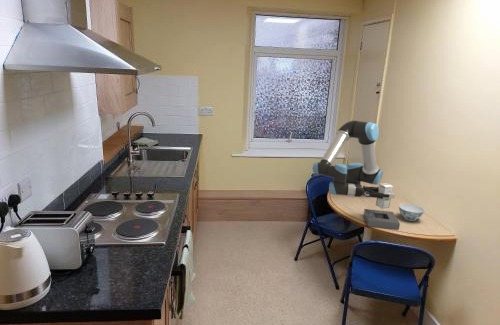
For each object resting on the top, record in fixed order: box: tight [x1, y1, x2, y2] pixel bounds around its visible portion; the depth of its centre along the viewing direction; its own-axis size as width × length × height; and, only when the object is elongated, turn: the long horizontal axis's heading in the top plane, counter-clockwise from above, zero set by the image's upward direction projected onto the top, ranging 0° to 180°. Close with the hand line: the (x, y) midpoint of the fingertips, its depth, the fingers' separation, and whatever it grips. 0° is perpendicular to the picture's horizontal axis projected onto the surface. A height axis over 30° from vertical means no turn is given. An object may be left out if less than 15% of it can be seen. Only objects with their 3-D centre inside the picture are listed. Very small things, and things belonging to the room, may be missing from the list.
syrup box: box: [375, 182, 394, 209], centre depth 213 cm, size 6×6×14 cm
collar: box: [363, 208, 401, 230], centre depth 217 cm, size 18×18×4 cm
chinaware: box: [398, 202, 425, 222], centre depth 223 cm, size 15×15×8 cm
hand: (392, 194), depth 211 cm, fingers closed on syrup box, 7 cm apart
